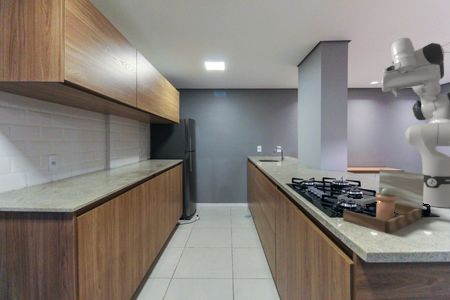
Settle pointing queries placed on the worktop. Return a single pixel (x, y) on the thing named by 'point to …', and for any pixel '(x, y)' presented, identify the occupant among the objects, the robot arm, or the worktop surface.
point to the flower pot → (385, 205)
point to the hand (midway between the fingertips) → (410, 94)
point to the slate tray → (362, 201)
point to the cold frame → (405, 201)
